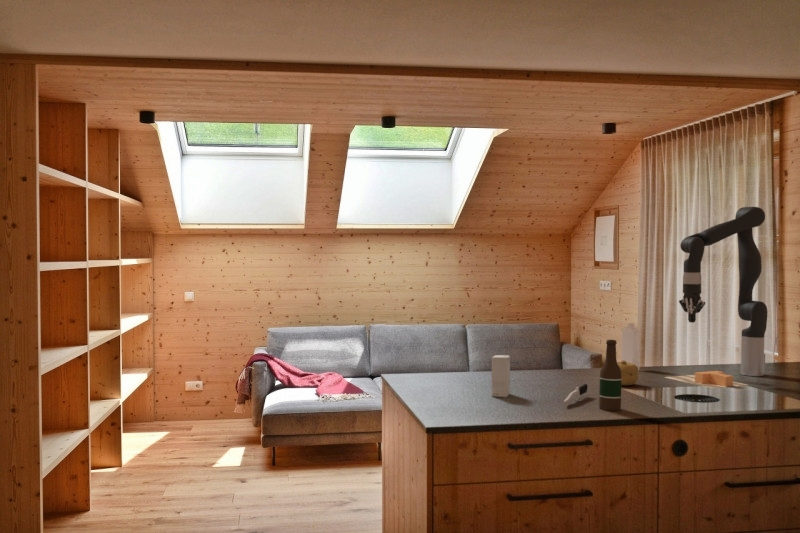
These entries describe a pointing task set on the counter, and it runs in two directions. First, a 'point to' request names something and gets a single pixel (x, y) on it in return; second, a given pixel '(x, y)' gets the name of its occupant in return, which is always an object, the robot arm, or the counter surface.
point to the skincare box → (501, 375)
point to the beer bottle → (610, 380)
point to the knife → (575, 394)
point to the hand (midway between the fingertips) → (691, 322)
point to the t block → (714, 378)
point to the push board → (692, 380)
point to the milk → (630, 344)
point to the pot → (628, 373)
